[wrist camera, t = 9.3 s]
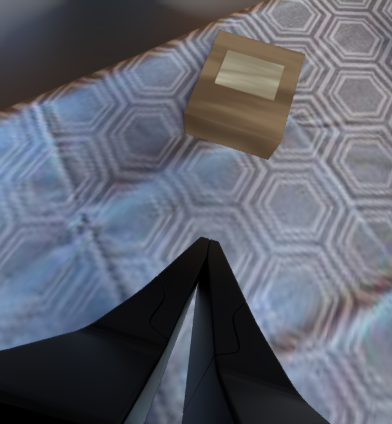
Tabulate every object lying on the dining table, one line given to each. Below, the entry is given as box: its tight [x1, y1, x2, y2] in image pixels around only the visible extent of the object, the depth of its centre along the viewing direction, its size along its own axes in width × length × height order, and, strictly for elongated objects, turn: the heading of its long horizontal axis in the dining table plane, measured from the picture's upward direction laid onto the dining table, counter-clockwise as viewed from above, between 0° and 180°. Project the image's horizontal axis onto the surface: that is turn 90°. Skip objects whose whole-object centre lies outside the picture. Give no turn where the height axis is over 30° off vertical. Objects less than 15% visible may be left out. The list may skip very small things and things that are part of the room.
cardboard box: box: [184, 30, 305, 160], centre depth 26 cm, size 4×11×13 cm
